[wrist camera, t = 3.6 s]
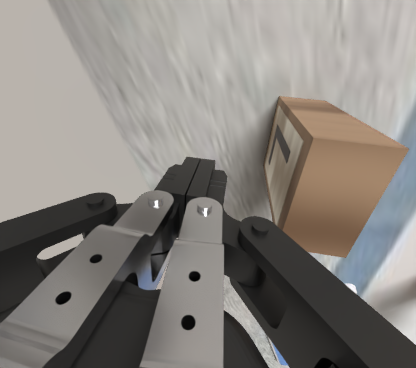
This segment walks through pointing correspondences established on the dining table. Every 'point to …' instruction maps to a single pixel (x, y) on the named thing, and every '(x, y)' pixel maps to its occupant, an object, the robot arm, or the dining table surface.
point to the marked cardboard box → (325, 173)
